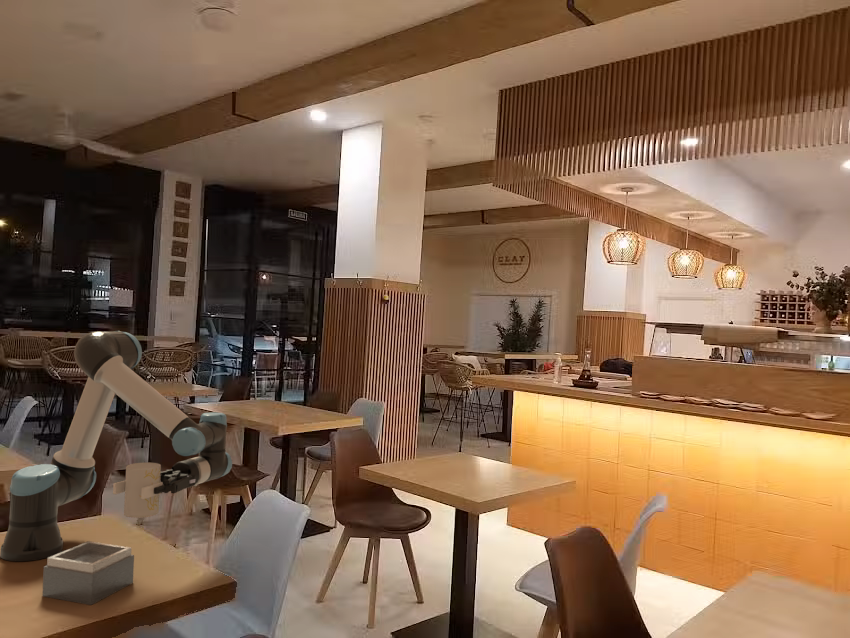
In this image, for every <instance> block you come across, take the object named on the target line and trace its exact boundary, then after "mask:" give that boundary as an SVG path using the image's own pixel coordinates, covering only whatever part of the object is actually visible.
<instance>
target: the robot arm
mask: <svg viewBox="0 0 850 638" xmlns="http://www.w3.org/2000/svg"><path fill="white" fill-rule="evenodd" d="M73 356H74V360H75V363H76V365H77V366H78V367H79V369H80V370H81V371H82V372H83V373H84V374H85V375H86V376H87V380H86V382H85V385H84V387H83V391H82V393H81V396H80V399H79V401H78V404H77V407H76V410H75V413H74V415H73V419H72V421H71V424H70V426H69V429H68V432H67V434H66V436H65V440H64V442H63V445H62V448H61V449H60V450H58V451H56V452H55V453H53V456H52V459H51V462H50V463H42V464H34V465H28V466H26V467H23V468H21V469H19V470H16V471H15V472H14V473H13V474H12V477H11V481H10V486H9V491H10V493H9V495H10V496H9V516H8V520H9V521H8V529H7V532H6V534H5V537H4V540H3V543H2V544H1V546H0V559H2V560H4V561H8V562H31V561H38V560H42V559H48V557H51V556H53V555H56V554H58V553H61V552H63V550H64V549H63V548H64V540H63V537H62V536H61V535H62V534H61V531H60V527H59V525H58V509H59V507H60V506H63V505H65V504H68V503H70V502H73V501H76V500H79V499H81V498H83V496H85V495H87V494H88V493H89V492H90V491H91V490H92V488H94V486H95V483H96V481H97V472H96V471H95V469H96V468H95V465H96V460H95V459H94V457H93V455H94V452H95V449H96V446H97V444H98V441H99V438H100V436H101V434H102V431H103V427H104V425H105V422H106V419H107V417H108V414H109V411H110V409H111V406H112V403H113V400H114V398H115V395H117V396H118V398H120V399H121V400H122V401H123V402H124V403H126V404H127V405H128V406H130V407H131V408H132V409H133V410H135V411H136V412H137V413H138V414H139V415H141V416H142V417H143V418H144V419H146V420H147V421H148V422H149V423H151V425H153V426H154V427H155V428H157V430H158V431H160V432H161V433H162V434H164V436H165V437H167V438H169V440H171V445H172V448H173V450H174V451H175V453H177V454H178V455H179V456H182V457H189V456H195V457H192V458H191V457H190V458H188V459H185V460H181V461H178V462H176V463H174V464H173V465H172V467H171V468H170V469H165V470H164V471H163V470H162V471H161V474H160V483H156V484H153V485H150V486H146V487H143V488H142V492H141V499H146V498H149V497H152V496H155V495H158V494H159V495H161V494H163V493H164V494H168V493H169V492H170V494H177V493H179V492H181V491H182V490H183V491H184V490H186V489H188V488H192V487H197V486H198V485H200V484H203V483H206V482H210V481H213V480H218V479H220V478H221V477H224V476H226V475H227V474H229V473H230V472H231V469H232V467H233V460H232V457H231V454H229V453H228V452H226V446H227V445H226V443H227V428H228V424H227V423H228V421H227V419H228V418H227V415H226V413H224V412H217V411H216V412H204V413H201V415H200V419H199V423H197V422H195V421H194V420H193V419H191V418H190V417H189V416H188V415H187V414H185V413H184V412H183V411H182V410H181V409H179V408H178V407H177V406H176V405H175V404H174V403H172V402H171V401H170V400H169V399H167V398H166V397H165V396H164V395H162V394H161V393H160V392H159V391H158V390H157V389H155V388H154V387H153V386H152V385H151V384H149V383H148V382H147V381H146V380H145V379H143V378H142V377H141V376H140V375H139V374H138V373H136V372H135V371H134V370H133V368H135V367H136V366H137V365H138V364H139V363H140V361H141V360H142V359H141V358H142V356H143V350H142V345H141V343H140V341H139V340H138V339H137V337H136V336H134V335H133V334H131V333H129V332H126V331H120V330H115V331H91V332H89V333H86V334H85V335H82V337H80V338H79V340H78V341H77V342H76V344H75V347H74V352H73ZM196 455H198V456H196ZM125 481H126V479H124V480H121V481H118V482H113V483H112V484H113V487H112V494H113V495H119V494H122V493H125Z"/></svg>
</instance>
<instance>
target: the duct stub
mask: <svg viewBox="0 0 850 638" xmlns="http://www.w3.org/2000/svg"><path fill="white" fill-rule="evenodd" d="M46 559H47V563H46V565H45V566H43V578H42V597H46V598H51V599H56V600H60V601H61V600H62V601H66V602H73V603H78V604H83V605H88V606H92V605H94V604H96V603H98V602H100V601H101V599H102V600H103V599H105V598H107V597H109V596H111V595H113V594H115V593H117V592H119V591H121V590H122V589H124V588H126V587H128V586H130V585H132V584H133V583H134V571H135V570H134V568H135V566H134V565H135V554H132V547H130V546H124V545H117V544H110V543H102V542H98V541H97V542H96V541H90V540H88V541H86V542H83V543H81V544H78V545H76V546H73V547H71V548H68V549H66V550H62V551H61V552H59V553H58V554H55V555H53V556H50V557H47V558H46Z"/></svg>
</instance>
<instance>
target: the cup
mask: <svg viewBox="0 0 850 638" xmlns="http://www.w3.org/2000/svg"><path fill="white" fill-rule="evenodd" d="M161 470H162V465H161V464H160V463H158V462H136V463H135V462H134V463H130V464H127V465H126V466H125V480H126V481H125V492H124V504H123V506H124V507H123V516H125V517H127V518H133V519H135V518H136V519H139V518H140V519H141V518H143V519H144V518H148V517H153V516H156V515H158V514H159V513H160V512H159V511H160V510H159V509H160V494H158V495H155V496H152V497H149V498H146V499H141V492H142V488H143V487H146V486H150V485H153V484H156V483H160V482H161V477H160V474H161Z"/></svg>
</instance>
